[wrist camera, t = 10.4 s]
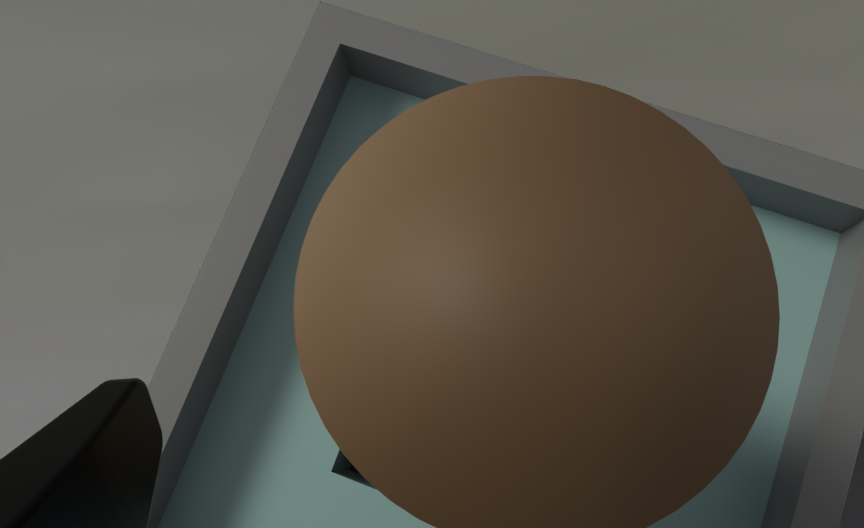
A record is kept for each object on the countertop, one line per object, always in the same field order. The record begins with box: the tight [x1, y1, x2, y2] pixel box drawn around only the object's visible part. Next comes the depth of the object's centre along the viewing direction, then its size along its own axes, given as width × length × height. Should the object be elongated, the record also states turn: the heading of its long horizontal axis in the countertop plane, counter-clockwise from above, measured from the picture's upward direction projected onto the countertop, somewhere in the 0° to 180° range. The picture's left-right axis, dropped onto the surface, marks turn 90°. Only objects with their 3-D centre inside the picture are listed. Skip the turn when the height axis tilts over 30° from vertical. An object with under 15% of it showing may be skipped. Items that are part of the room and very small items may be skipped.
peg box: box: [147, 1, 864, 528], centre depth 17 cm, size 13×13×4 cm
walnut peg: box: [293, 76, 780, 528], centre depth 13 cm, size 4×4×13 cm
